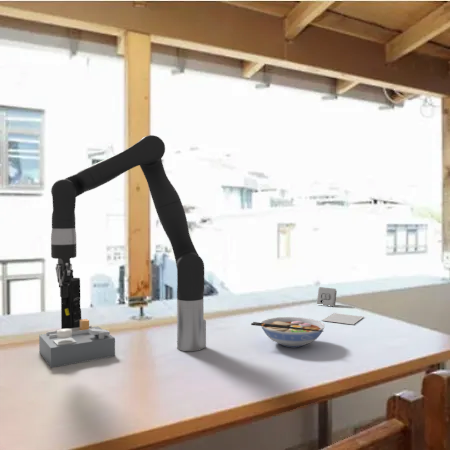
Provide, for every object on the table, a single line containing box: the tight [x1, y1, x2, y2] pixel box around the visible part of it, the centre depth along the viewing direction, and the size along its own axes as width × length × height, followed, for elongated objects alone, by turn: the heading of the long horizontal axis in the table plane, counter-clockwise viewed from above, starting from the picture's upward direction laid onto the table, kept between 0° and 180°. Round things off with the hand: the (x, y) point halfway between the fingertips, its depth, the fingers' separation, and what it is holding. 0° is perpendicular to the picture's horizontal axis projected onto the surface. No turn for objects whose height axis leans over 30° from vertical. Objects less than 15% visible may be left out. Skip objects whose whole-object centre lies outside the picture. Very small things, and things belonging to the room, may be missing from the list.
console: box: [38, 325, 116, 369], centre depth 145 cm, size 20×18×8 cm
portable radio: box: [58, 273, 82, 329], centre depth 163 cm, size 8×6×25 cm
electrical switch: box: [316, 286, 337, 307], centre depth 225 cm, size 9×5×9 cm, turn 53°
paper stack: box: [321, 312, 364, 325], centre depth 187 cm, size 23×25×1 cm
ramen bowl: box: [250, 316, 325, 348], centre depth 155 cm, size 25×23×8 cm
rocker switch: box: [88, 328, 111, 336], centre depth 144 cm, size 6×4×1 cm, turn 123°
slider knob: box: [80, 318, 90, 330], centre depth 151 cm, size 2×3×4 cm
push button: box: [56, 328, 72, 339], centre depth 138 cm, size 4×4×2 cm
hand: (64, 297), depth 138 cm, fingers closed
